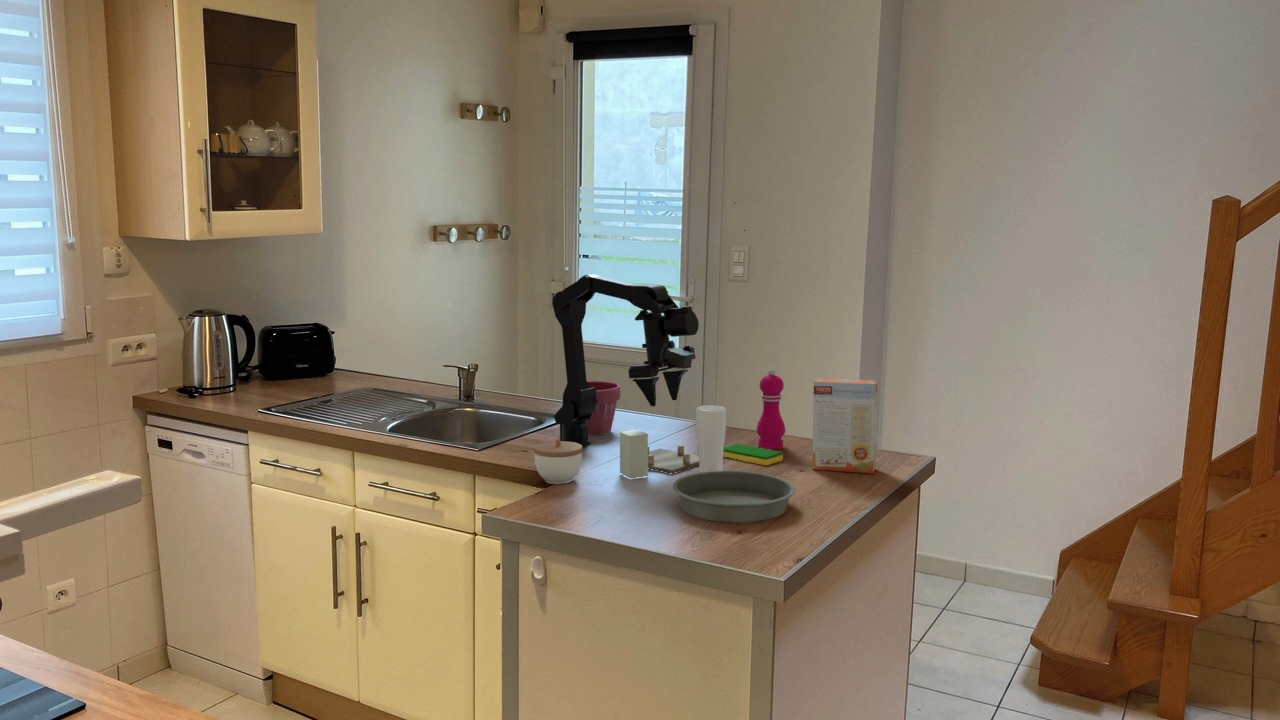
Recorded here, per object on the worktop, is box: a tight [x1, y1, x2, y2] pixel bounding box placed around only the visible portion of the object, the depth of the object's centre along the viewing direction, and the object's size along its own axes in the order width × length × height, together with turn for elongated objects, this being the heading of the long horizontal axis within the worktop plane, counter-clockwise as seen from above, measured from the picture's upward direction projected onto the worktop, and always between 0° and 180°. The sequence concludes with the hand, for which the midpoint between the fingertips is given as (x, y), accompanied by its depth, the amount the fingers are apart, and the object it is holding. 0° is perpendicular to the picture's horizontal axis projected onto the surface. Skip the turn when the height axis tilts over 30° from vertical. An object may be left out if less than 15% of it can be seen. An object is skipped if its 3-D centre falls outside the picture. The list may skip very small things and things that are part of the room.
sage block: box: [619, 429, 649, 478], centre depth 225 cm, size 5×4×10 cm
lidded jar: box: [533, 438, 584, 485], centre depth 221 cm, size 11×11×9 cm
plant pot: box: [585, 380, 621, 436], centre depth 271 cm, size 14×14×13 cm
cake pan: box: [672, 470, 796, 523], centre depth 202 cm, size 25×25×4 cm
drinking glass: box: [695, 404, 727, 473], centre depth 227 cm, size 7×7×15 cm
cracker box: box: [811, 377, 879, 475], centre depth 229 cm, size 14×6×21 cm, turn 71°
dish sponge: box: [723, 443, 784, 466], centre depth 242 cm, size 7×14×2 cm, turn 48°
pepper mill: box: [755, 368, 786, 451], centre depth 252 cm, size 7×7×20 cm
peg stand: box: [648, 444, 699, 475], centre depth 237 cm, size 15×15×3 cm
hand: (664, 403), depth 238 cm, fingers open, 9 cm apart
